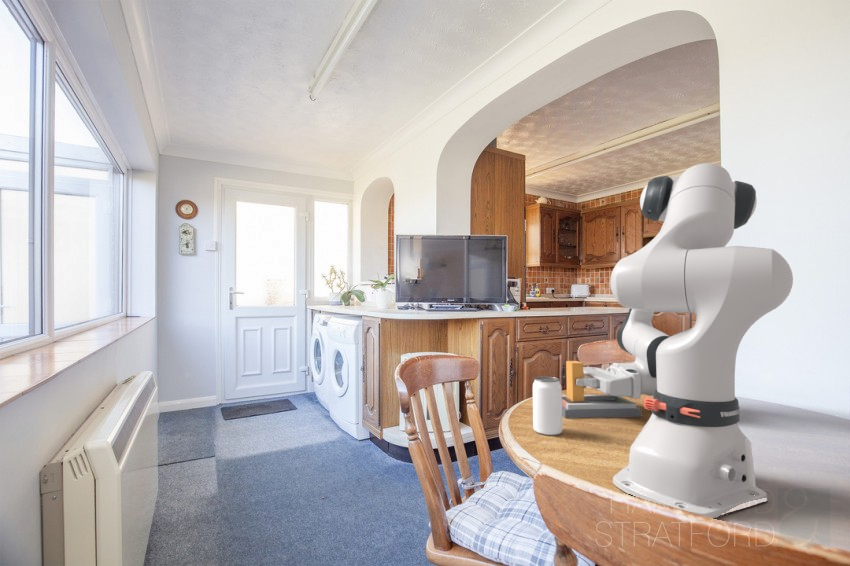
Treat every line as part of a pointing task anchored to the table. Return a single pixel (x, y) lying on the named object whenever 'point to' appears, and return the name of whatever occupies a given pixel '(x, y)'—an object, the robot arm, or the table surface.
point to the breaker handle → (573, 391)
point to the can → (547, 406)
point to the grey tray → (600, 407)
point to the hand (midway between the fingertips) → (571, 379)
